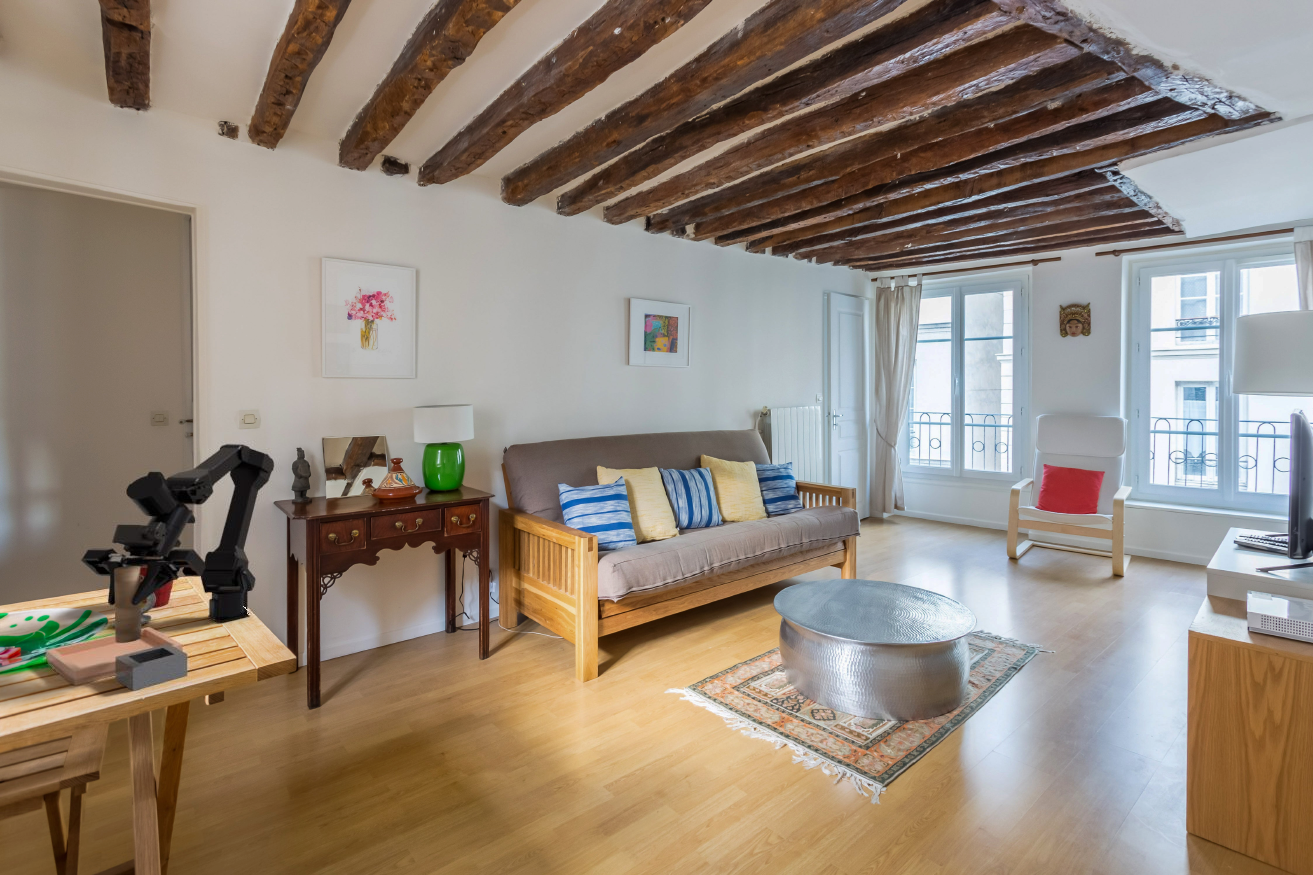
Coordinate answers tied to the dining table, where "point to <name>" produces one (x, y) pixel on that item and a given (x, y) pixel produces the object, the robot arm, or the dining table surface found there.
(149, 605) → the pocket watch
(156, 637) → the tray
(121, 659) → the socket
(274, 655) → the dining table surface
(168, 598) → the plastic cup
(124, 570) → the dowel
